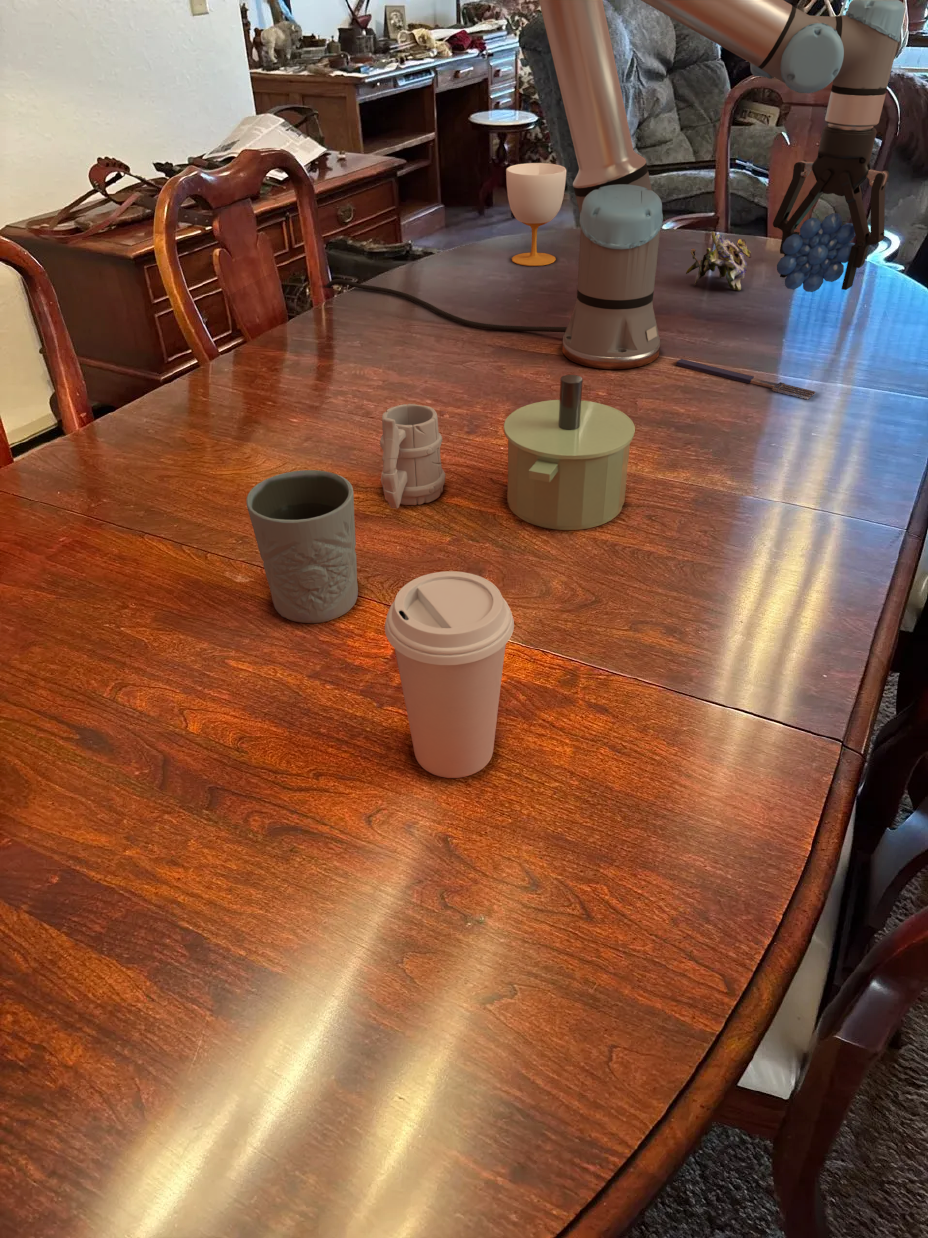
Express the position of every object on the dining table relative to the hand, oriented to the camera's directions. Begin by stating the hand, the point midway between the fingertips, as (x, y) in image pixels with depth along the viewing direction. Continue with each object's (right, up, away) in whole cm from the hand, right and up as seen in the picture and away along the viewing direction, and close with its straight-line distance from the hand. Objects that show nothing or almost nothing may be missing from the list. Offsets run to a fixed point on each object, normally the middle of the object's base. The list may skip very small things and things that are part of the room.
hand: (815, 281), depth 148 cm
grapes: (-1, -1, +1) cm, 2 cm away
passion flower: (-10, +8, +24) cm, 27 cm away
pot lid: (-45, -33, -45) cm, 72 cm away
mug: (-63, -40, -39) cm, 84 cm away
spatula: (-16, -19, -11) cm, 27 cm away
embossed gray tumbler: (-72, -52, -55) cm, 104 cm away
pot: (-45, -40, -40) cm, 72 cm away
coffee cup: (-57, -65, -72) cm, 113 cm away
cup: (-42, +19, +40) cm, 62 cm away
